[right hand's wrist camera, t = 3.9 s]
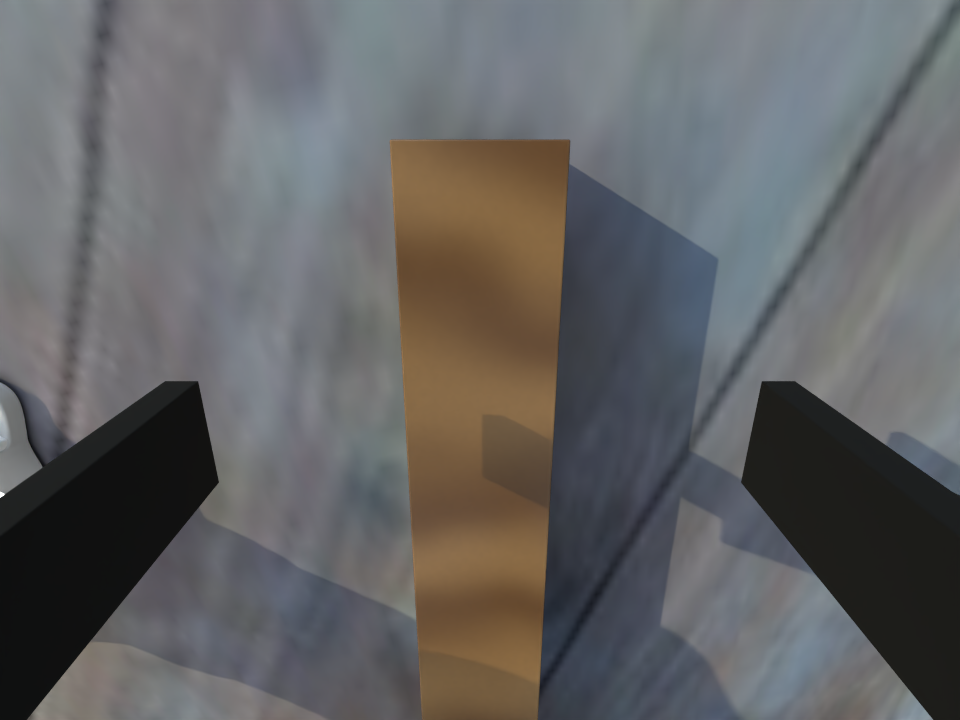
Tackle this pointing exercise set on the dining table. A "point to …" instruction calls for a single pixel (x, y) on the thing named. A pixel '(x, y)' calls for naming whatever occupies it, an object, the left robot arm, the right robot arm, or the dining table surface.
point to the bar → (479, 408)
